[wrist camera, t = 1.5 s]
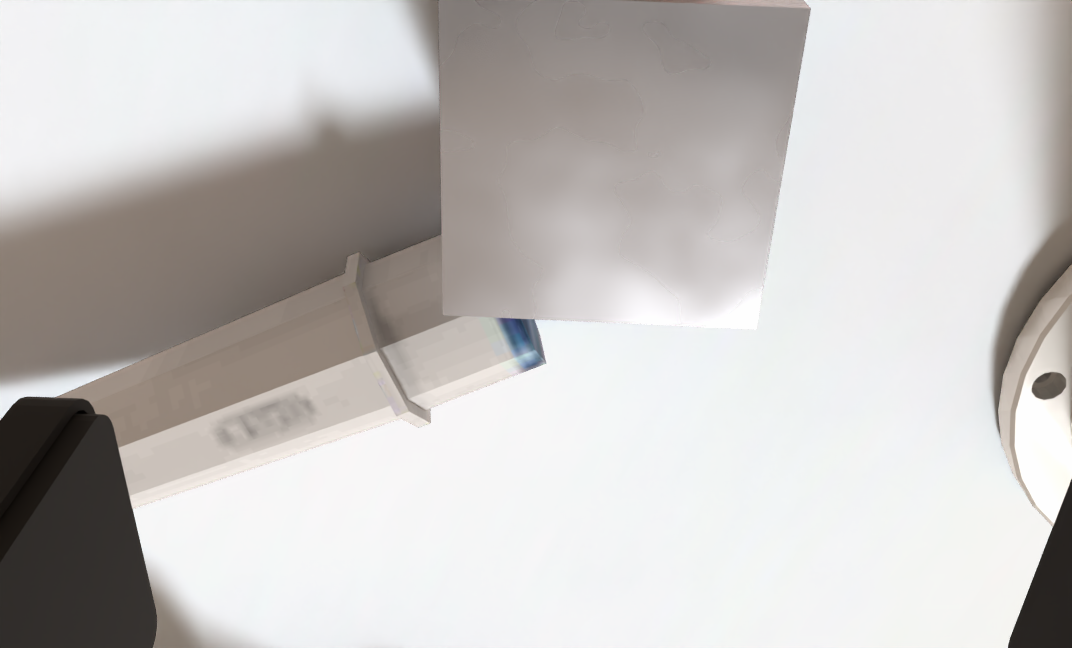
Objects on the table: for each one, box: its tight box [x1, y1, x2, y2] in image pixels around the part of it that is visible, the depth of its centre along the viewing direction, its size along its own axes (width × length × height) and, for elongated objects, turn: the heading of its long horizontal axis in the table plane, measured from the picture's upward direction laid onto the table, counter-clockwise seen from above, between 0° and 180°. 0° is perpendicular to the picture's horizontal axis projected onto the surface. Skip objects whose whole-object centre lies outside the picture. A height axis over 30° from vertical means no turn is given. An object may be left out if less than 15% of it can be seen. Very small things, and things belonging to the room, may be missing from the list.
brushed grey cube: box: [438, 0, 811, 329], centre depth 21 cm, size 6×6×7 cm
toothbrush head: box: [55, 234, 546, 509], centre depth 27 cm, size 5×7×25 cm
